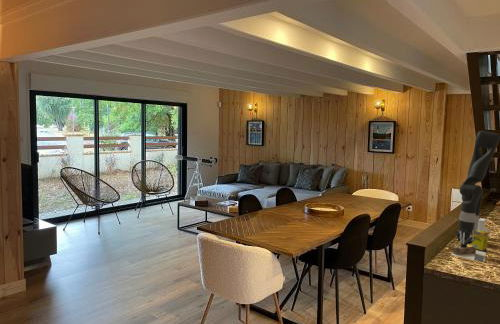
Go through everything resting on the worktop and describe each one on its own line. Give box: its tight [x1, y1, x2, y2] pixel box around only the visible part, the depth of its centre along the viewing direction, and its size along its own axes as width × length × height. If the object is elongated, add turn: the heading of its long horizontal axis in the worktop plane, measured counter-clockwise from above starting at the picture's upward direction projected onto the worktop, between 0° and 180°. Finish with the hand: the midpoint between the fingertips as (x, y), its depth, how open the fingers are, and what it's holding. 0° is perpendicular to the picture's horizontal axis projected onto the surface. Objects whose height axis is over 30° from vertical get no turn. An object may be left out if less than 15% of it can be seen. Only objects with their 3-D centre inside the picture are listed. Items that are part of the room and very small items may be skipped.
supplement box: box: [471, 230, 490, 252], centre depth 217 cm, size 6×6×11 cm
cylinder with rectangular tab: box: [478, 217, 490, 233], centre depth 246 cm, size 9×9×12 cm
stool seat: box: [451, 245, 487, 263], centre depth 203 cm, size 21×15×2 cm
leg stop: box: [473, 254, 484, 263], centre depth 192 cm, size 2×4×2 cm, turn 56°
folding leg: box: [452, 246, 477, 255], centre depth 202 cm, size 14×2×4 cm, turn 109°
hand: (463, 250), depth 206 cm, fingers closed
